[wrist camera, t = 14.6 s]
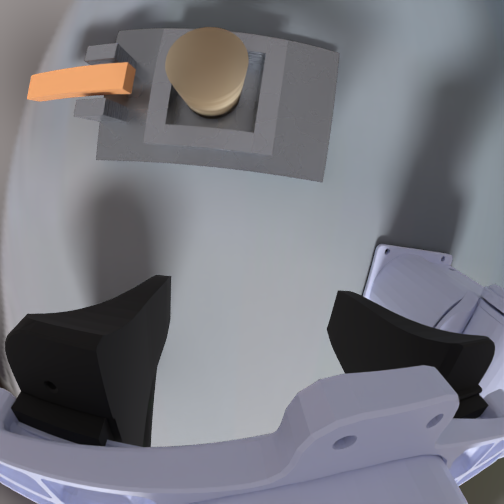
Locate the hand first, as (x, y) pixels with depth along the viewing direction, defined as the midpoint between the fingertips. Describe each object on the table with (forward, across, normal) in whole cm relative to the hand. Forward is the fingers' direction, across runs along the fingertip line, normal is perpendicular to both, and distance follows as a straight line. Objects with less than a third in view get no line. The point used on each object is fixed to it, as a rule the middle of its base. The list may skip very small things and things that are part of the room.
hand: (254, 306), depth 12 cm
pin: (+6, +11, -10) cm, 16 cm away
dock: (+10, +3, -10) cm, 14 cm away
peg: (+9, +3, -10) cm, 14 cm away
